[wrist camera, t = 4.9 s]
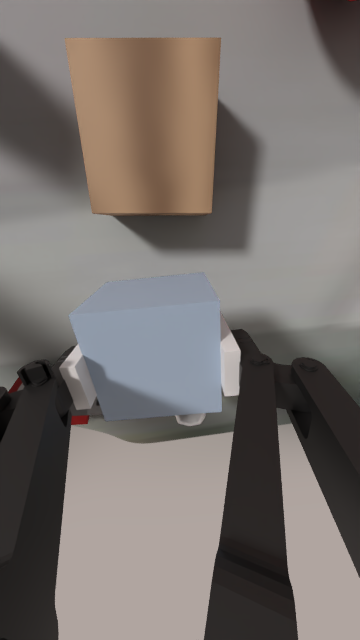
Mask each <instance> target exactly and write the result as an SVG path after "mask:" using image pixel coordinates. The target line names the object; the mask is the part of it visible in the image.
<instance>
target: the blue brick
mask: <svg viewBox="0 0 360 640" xmlns="http://www.w3.org/2000/svg"><path fill="white" fill-rule="evenodd" d="M68 316H69V319H70V322H71V324H72V327H73V330H74V333H75V336H76V339H77V342H78V344H79V347H80V350H81V353H82V355H83V357H84V360H85V362H86V365H87V368H88V371H89V374H90V377H91V379H92V382H93V385H94V388H95V391H96V394H97V399H98V401H99V404H100V407H101V410H102V413H103V416H104V419H105V421H116V420H128V419H140V418H152V417H164V416H176V415H188V414H200V413H212V412H222V394H221V353H220V342H221V337H220V300H219V298H218V296H217V295H216V293H215V291H214V289H213V288H212V286H211V284H210V282H209V280H208V279H207V277H206V275H205V273H204V272H201V273H191V274H181V275H171V276H162V277H152V278H142V279H132V280H122V281H112V282H106V283H105V284H104V285H103V286H102V287H101V288H99V289H98V290H97V291H96V292H95V293H94V294H92V295H91V296H90V297H89V298H88V299H87V300H86V301H84V302H83V303H82V304H81V305H80V306H79V307H77V308H76V309H75V310H74V311H73V312H72V313H70V314H69V315H68Z"/></svg>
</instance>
